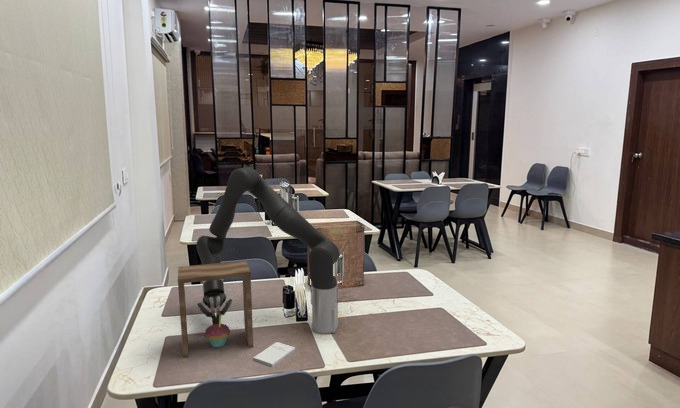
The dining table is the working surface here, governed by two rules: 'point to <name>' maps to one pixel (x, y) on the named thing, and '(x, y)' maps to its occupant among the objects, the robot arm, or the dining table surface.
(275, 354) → the external hard drive
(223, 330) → the cupcake
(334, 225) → the book
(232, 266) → the wooden arch
